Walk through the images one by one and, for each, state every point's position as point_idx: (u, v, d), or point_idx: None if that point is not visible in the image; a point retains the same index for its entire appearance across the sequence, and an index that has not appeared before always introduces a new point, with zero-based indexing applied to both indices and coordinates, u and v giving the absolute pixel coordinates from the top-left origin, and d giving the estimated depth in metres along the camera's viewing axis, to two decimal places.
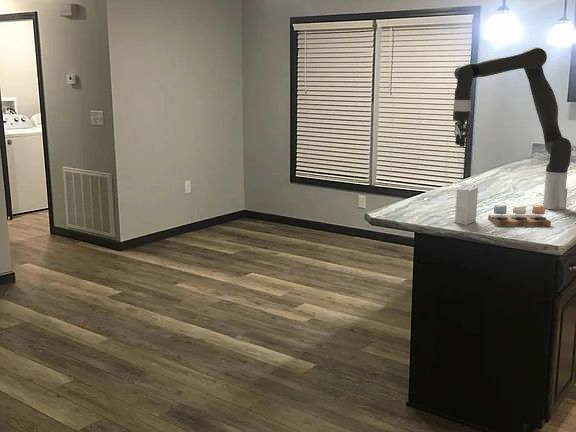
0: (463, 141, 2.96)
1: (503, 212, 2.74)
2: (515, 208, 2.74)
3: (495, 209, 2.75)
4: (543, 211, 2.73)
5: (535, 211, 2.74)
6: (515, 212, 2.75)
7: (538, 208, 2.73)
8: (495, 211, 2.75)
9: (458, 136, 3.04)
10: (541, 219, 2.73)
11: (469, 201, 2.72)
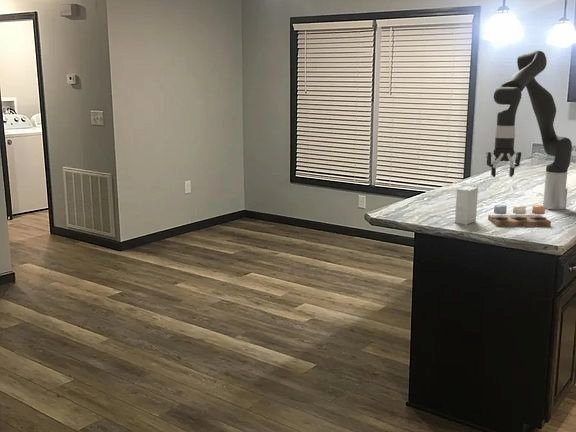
0: None
1: (503, 212, 2.74)
2: (515, 208, 2.74)
3: (495, 209, 2.75)
4: (543, 211, 2.73)
5: (535, 211, 2.74)
6: (515, 212, 2.75)
7: (538, 208, 2.73)
8: (495, 211, 2.75)
9: None
10: (541, 219, 2.73)
11: (469, 201, 2.72)
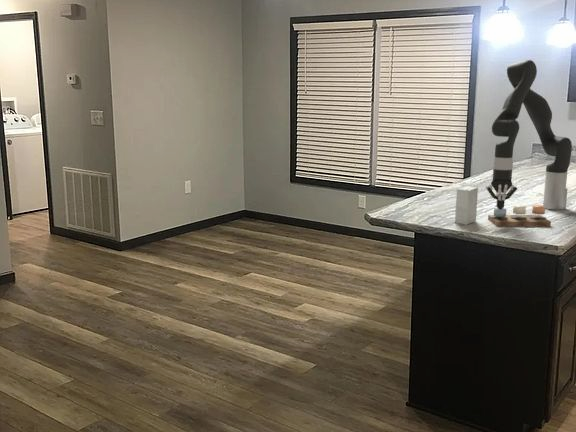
0: None
1: (503, 215, 2.74)
2: (515, 208, 2.74)
3: (495, 212, 2.75)
4: (543, 211, 2.73)
5: (535, 211, 2.74)
6: (515, 212, 2.75)
7: (538, 208, 2.73)
8: (495, 214, 2.75)
9: None
10: (541, 219, 2.73)
11: (469, 201, 2.72)
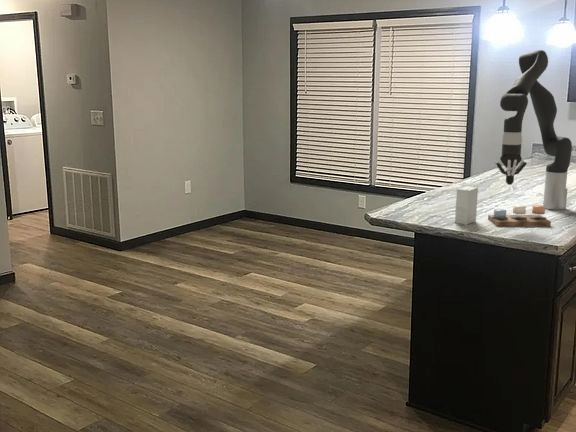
0: None
1: (503, 216, 2.74)
2: (515, 208, 2.74)
3: (495, 213, 2.75)
4: (543, 211, 2.73)
5: (535, 211, 2.74)
6: (515, 212, 2.75)
7: (538, 208, 2.73)
8: (495, 215, 2.75)
9: None
10: (541, 219, 2.73)
11: (469, 201, 2.72)
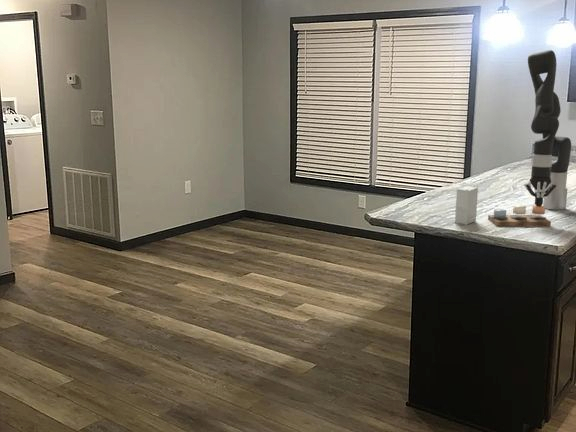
0: None
1: (503, 216, 2.74)
2: (515, 208, 2.74)
3: (495, 213, 2.75)
4: (543, 211, 2.73)
5: (535, 211, 2.74)
6: (515, 212, 2.75)
7: (538, 208, 2.73)
8: (495, 215, 2.75)
9: None
10: (541, 219, 2.73)
11: (469, 201, 2.72)
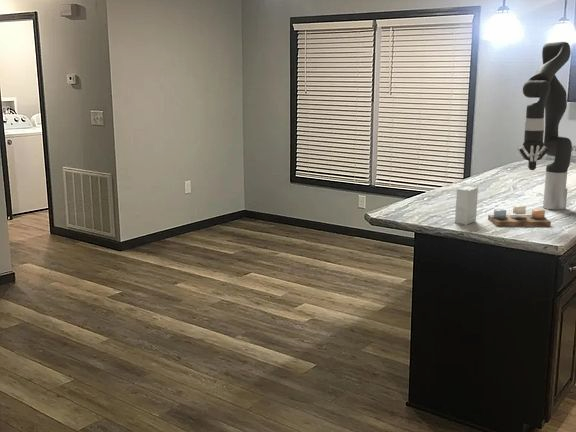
0: None
1: (503, 216, 2.74)
2: (515, 208, 2.74)
3: (495, 213, 2.75)
4: (543, 215, 2.74)
5: (535, 216, 2.74)
6: (515, 212, 2.75)
7: (538, 212, 2.73)
8: (495, 215, 2.75)
9: None
10: (541, 219, 2.73)
11: (469, 201, 2.72)
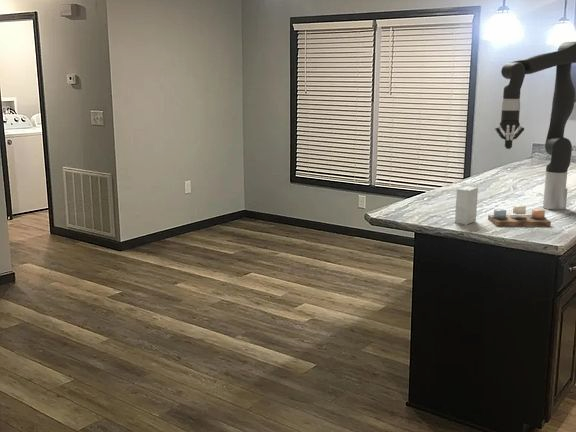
0: None
1: (503, 216, 2.74)
2: (515, 208, 2.74)
3: (495, 213, 2.75)
4: (543, 215, 2.74)
5: (535, 216, 2.74)
6: (515, 212, 2.75)
7: (538, 212, 2.73)
8: (495, 215, 2.75)
9: None
10: (541, 219, 2.73)
11: (469, 201, 2.72)
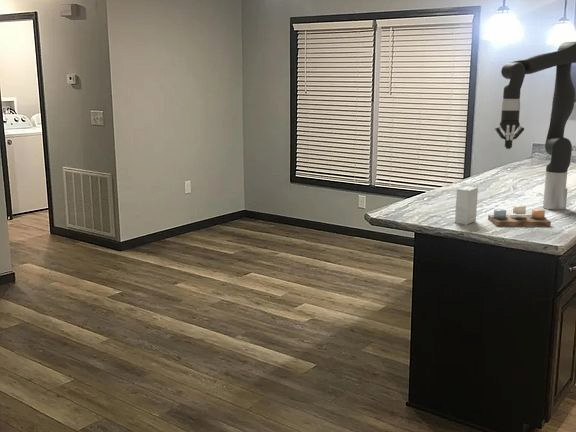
0: None
1: (503, 216, 2.74)
2: (515, 208, 2.74)
3: (495, 213, 2.75)
4: (543, 215, 2.74)
5: (535, 216, 2.74)
6: (515, 212, 2.75)
7: (538, 212, 2.73)
8: (495, 215, 2.75)
9: None
10: (541, 219, 2.73)
11: (469, 201, 2.72)
